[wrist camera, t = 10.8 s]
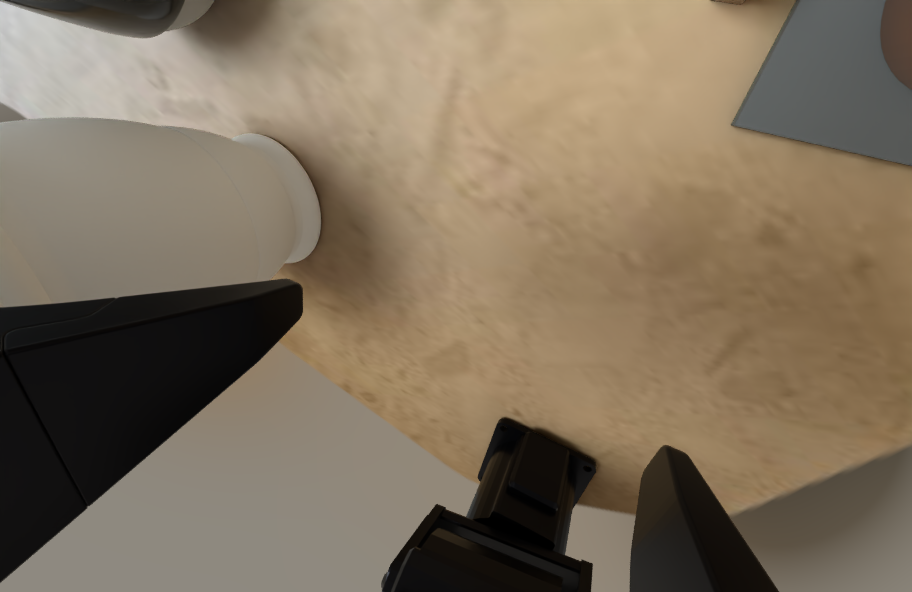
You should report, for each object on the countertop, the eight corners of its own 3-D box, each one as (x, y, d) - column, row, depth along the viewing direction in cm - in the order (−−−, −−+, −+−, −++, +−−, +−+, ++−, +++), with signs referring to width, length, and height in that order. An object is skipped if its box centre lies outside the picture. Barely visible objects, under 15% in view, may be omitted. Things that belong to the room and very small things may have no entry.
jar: (205, 214, 28) (-125, 296, 16) (224, 77, 23) (-270, 41, 10) (312, 302, 28) (52, 457, 15) (360, 183, 22) (4, 281, 10)
